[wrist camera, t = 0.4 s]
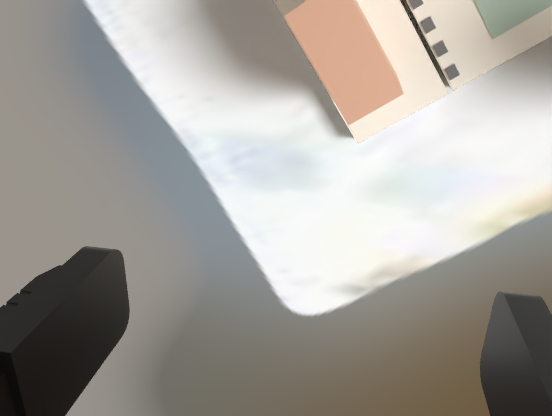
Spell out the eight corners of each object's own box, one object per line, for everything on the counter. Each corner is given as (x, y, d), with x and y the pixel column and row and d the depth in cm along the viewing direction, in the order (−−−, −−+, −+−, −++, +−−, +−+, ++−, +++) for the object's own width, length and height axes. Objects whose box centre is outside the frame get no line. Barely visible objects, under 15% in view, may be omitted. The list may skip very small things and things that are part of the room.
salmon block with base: (355, -83, 27) (351, -107, 21) (445, 90, 30) (467, 117, 23) (266, -18, 29) (237, -20, 23) (358, 138, 32) (355, 176, 26)
